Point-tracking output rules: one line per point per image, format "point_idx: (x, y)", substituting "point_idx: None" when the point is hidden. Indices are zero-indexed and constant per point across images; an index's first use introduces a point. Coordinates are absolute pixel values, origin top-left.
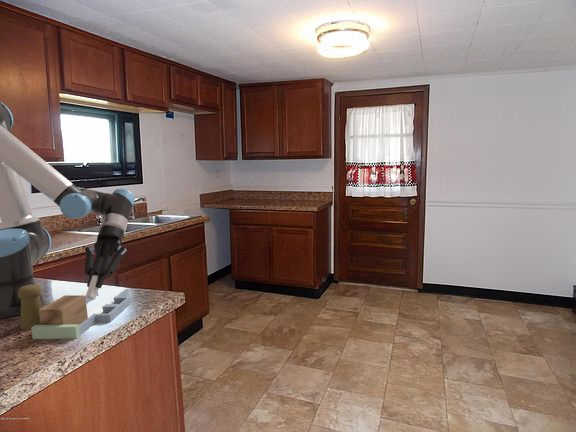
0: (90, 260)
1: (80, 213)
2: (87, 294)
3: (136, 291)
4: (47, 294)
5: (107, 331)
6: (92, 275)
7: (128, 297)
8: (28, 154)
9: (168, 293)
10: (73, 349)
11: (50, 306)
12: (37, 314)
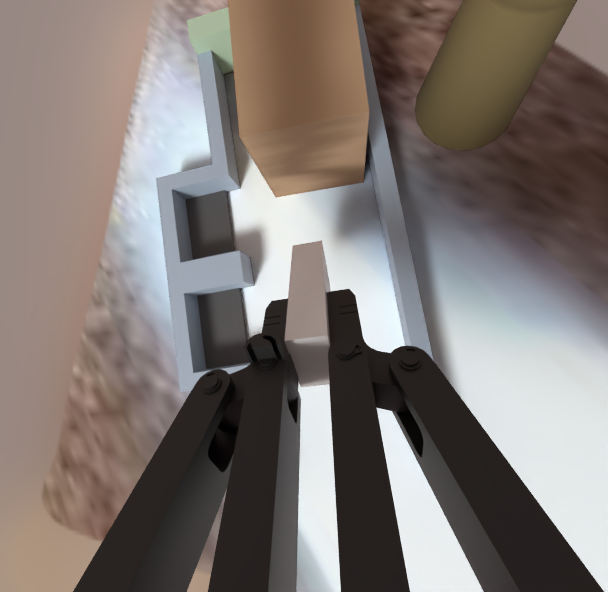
0: (489, 554)
1: None
2: (314, 246)
3: None
4: None
5: (142, 125)
6: (335, 343)
7: (187, 377)
8: None
9: (93, 518)
10: (171, 4)
11: None
12: (438, 51)
